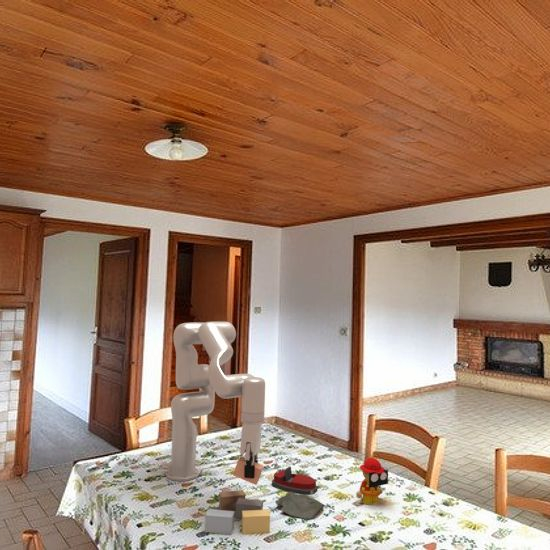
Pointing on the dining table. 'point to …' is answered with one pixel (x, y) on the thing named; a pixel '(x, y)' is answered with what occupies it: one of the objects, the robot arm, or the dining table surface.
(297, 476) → the bumper car
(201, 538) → the dining table surface
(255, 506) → the charcoal brick
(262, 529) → the ochre brick
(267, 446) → the dining table surface
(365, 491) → the toy
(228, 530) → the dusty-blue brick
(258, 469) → the terracotta brick
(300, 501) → the artifact
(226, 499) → the walnut brick
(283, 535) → the dining table surface
